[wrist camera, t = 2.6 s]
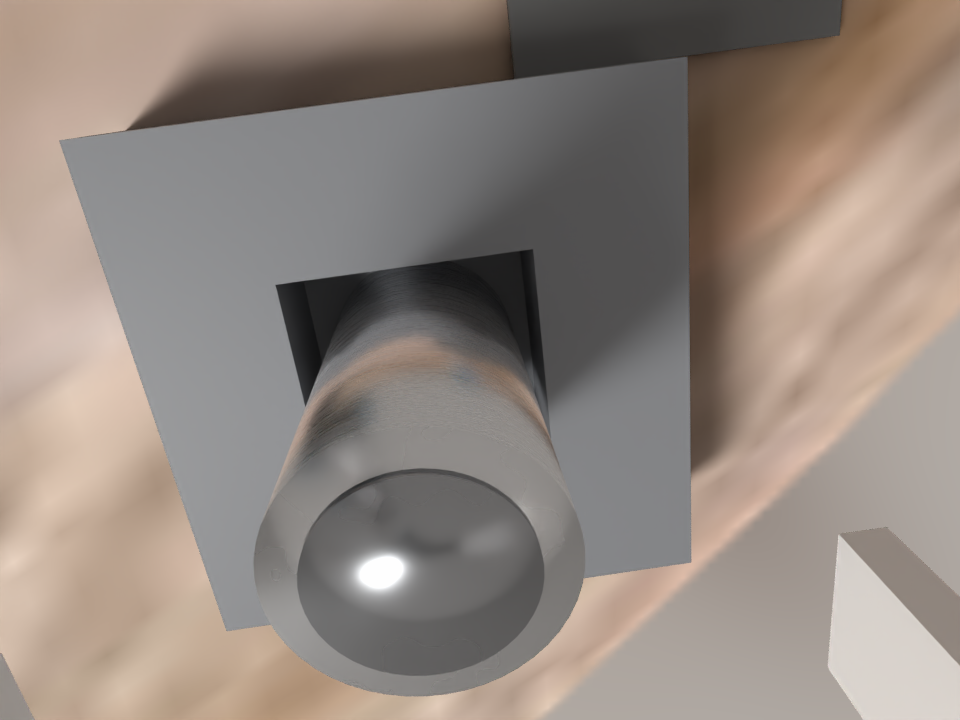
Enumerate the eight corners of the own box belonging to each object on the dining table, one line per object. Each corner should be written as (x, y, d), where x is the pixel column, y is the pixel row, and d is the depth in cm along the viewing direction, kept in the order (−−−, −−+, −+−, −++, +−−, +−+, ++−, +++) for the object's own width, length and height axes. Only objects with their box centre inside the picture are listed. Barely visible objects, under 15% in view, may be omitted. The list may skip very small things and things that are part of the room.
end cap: (319, 270, 22) (208, 461, 11) (501, 246, 22) (576, 409, 11) (355, 432, 25) (293, 727, 13) (519, 408, 25) (597, 681, 13)
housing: (124, 130, 21) (59, 140, 17) (642, 61, 21) (687, 56, 17) (254, 555, 27) (226, 631, 23) (655, 497, 27) (691, 562, 24)
